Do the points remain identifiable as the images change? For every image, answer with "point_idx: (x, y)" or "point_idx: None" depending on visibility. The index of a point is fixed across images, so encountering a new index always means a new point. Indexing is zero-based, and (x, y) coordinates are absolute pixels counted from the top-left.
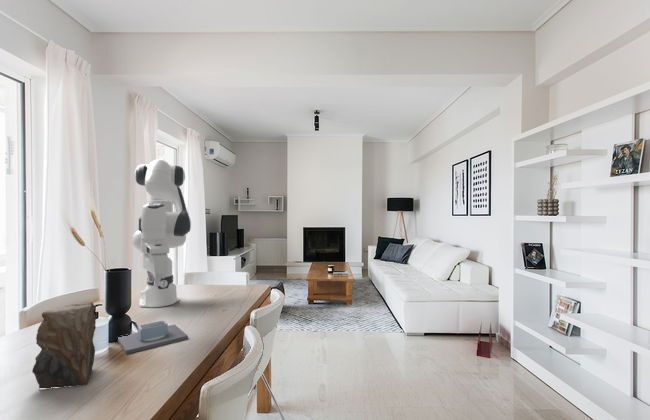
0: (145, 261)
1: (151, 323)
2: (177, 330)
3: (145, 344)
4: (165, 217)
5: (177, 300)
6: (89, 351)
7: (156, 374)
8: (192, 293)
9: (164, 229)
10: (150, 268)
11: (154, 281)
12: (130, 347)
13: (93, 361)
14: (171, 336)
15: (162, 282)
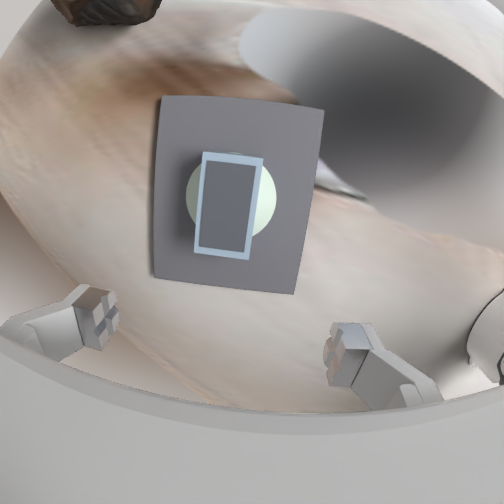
0: (470, 501)
1: (244, 208)
2: (223, 276)
3: (167, 154)
4: None
5: (470, 360)
6: (65, 6)
7: (25, 144)
8: (474, 390)
9: None
10: (33, 408)
11: (73, 305)
12: (177, 111)
13: (123, 21)
14: (180, 241)
15: None
